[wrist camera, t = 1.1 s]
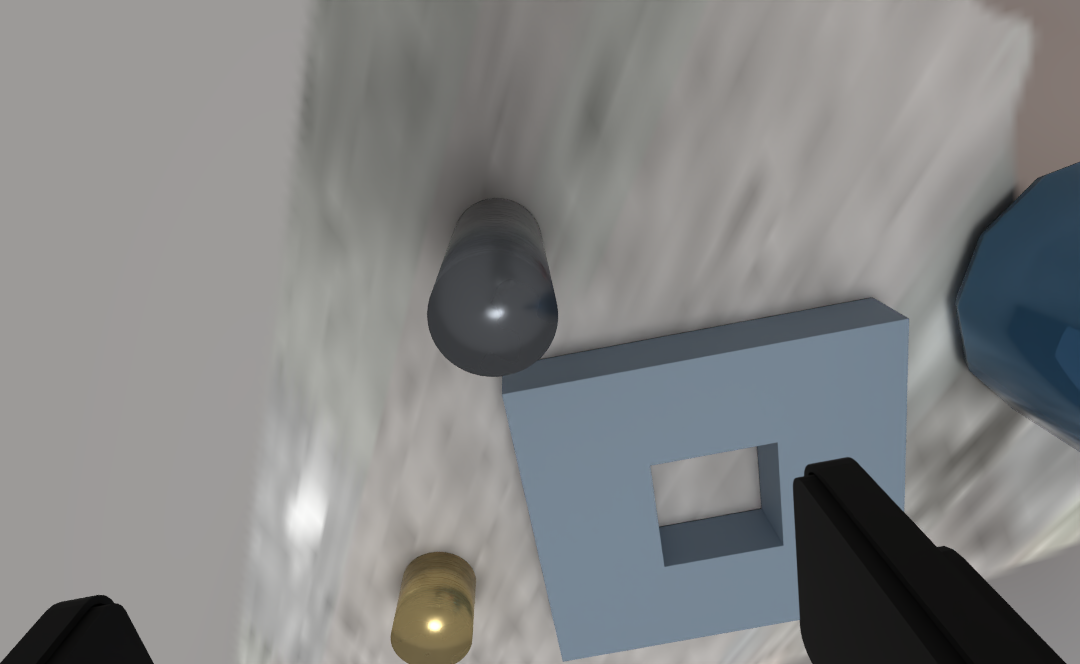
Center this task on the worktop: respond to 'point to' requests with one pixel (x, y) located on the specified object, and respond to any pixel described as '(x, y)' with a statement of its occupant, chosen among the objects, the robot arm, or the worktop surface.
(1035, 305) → the wine bottle
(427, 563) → the short brass pin
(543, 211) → the worktop surface
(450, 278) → the tall steel pin
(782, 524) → the sleeve block
